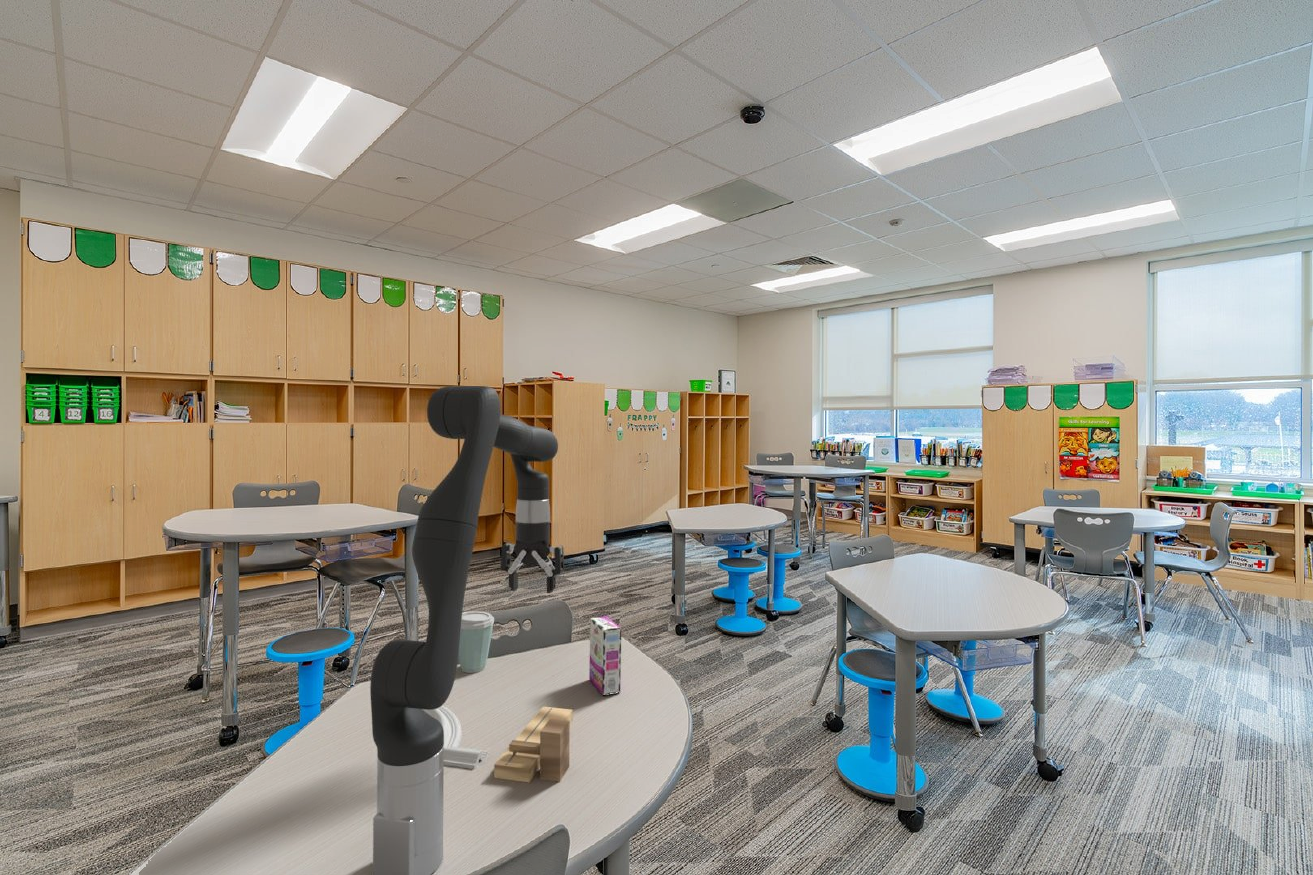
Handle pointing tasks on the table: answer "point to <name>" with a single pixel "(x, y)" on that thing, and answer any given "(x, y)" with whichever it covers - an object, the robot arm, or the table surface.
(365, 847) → the table surface
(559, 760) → the wooden block with tab
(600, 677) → the candy bar box
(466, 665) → the disposable coffee cup
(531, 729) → the plank
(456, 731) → the molding
